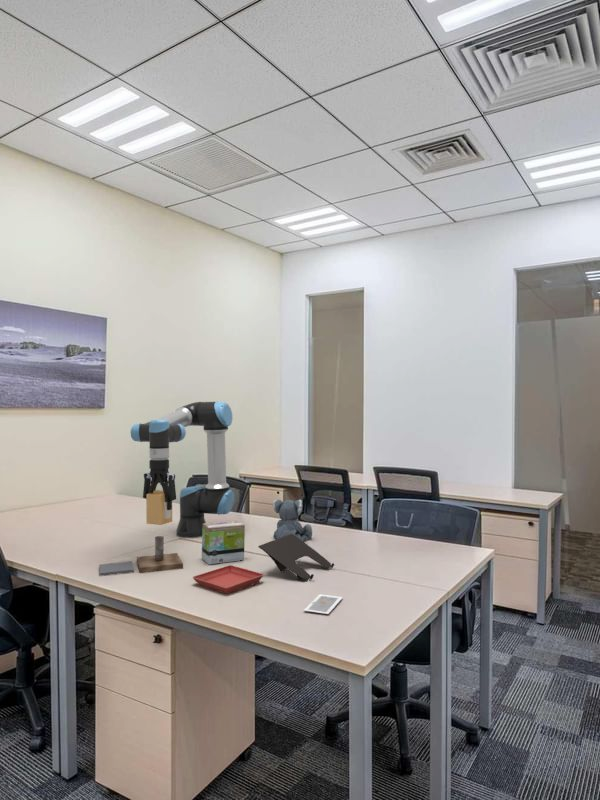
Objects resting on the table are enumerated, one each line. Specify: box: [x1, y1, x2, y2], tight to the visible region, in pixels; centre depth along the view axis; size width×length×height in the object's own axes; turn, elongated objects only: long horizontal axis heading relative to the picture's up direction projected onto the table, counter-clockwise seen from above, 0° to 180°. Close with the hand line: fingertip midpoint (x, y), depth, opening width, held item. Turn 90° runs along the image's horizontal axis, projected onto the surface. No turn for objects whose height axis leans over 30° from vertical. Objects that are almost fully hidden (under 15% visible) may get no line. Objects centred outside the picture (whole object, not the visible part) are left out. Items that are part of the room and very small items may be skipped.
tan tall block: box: [145, 489, 173, 526], centre depth 212 cm, size 7×7×12 cm
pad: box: [99, 561, 135, 576], centre depth 206 cm, size 12×12×1 cm
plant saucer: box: [192, 565, 265, 594], centre depth 189 cm, size 18×18×3 cm
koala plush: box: [272, 498, 313, 542], centre depth 251 cm, size 17×18×20 cm
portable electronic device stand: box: [257, 534, 335, 582], centre depth 204 cm, size 23×23×9 cm
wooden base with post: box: [136, 535, 184, 574], centre depth 212 cm, size 16×16×11 cm
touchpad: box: [303, 593, 343, 615], centre depth 168 cm, size 8×15×2 cm, turn 159°
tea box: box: [201, 520, 246, 566], centre depth 219 cm, size 15×10×15 cm
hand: (159, 517), depth 212 cm, fingers closed on tan tall block, 7 cm apart
